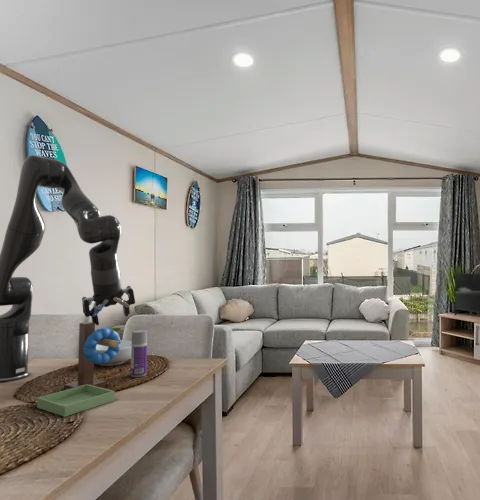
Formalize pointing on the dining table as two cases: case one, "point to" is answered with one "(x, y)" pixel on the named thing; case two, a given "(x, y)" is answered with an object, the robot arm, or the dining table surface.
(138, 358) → the container
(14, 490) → the dining table surface
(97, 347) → the cereal bowl
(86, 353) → the ring
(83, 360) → the rack
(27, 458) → the dining table surface
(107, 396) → the tray
